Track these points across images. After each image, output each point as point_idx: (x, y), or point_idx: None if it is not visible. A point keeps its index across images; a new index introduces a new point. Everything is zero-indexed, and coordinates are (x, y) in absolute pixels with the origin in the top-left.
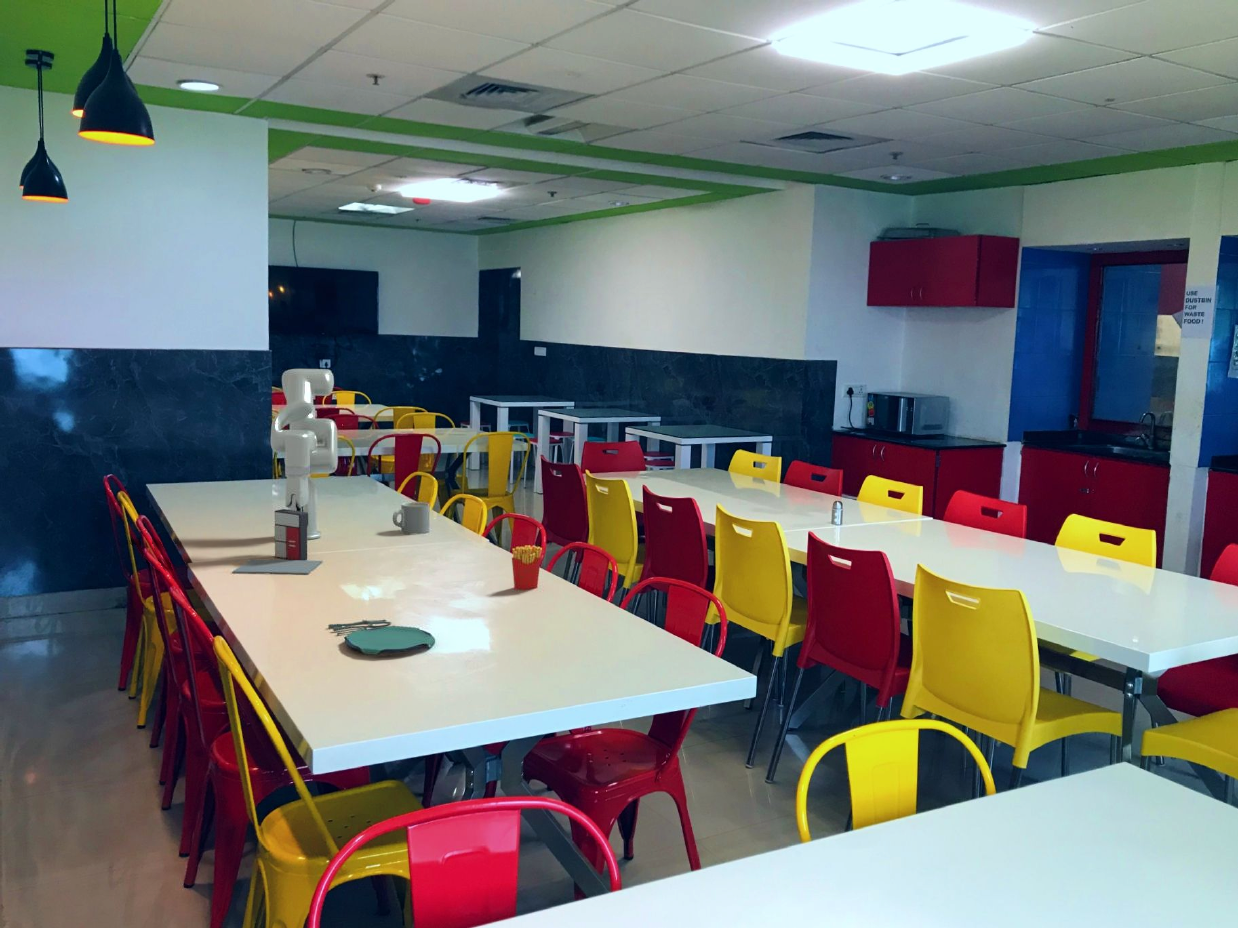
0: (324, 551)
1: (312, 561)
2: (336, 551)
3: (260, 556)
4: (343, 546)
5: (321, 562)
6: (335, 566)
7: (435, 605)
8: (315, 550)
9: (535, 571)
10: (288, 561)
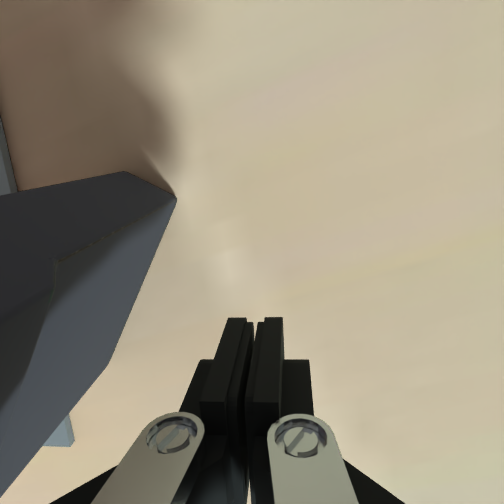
0: (329, 396)
1: None
2: None
3: (125, 61)
4: (477, 460)
5: (55, 442)
6: (20, 501)
7: None
8: (352, 344)
9: None
10: None
